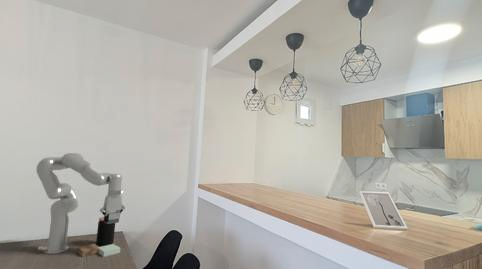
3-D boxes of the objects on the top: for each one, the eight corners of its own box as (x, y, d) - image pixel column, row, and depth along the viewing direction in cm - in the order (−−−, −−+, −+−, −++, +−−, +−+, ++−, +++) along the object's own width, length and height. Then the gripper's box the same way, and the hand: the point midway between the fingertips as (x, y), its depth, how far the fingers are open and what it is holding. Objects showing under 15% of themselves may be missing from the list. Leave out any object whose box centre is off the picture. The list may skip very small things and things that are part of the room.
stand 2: (103, 256, 155) (104, 251, 155) (97, 252, 161) (97, 247, 161) (119, 252, 162) (120, 247, 163) (113, 248, 169) (113, 243, 169)
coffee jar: (110, 241, 183) (113, 215, 184) (115, 245, 175) (118, 218, 177) (93, 243, 175) (96, 217, 177) (98, 248, 168) (101, 220, 169)
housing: (104, 221, 163) (105, 211, 164) (114, 220, 168) (115, 210, 169) (108, 223, 159) (109, 213, 160) (118, 222, 164) (119, 211, 164)
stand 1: (82, 256, 153) (83, 251, 153) (76, 252, 159) (77, 247, 160) (100, 252, 161) (100, 247, 161) (93, 248, 167) (94, 243, 167)
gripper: (124, 191, 174) (122, 218, 173) (97, 193, 161) (94, 222, 159) (129, 192, 169) (127, 220, 168) (102, 194, 156) (99, 224, 155)
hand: (111, 220), depth 164 cm, fingers closed on housing, 6 cm apart
